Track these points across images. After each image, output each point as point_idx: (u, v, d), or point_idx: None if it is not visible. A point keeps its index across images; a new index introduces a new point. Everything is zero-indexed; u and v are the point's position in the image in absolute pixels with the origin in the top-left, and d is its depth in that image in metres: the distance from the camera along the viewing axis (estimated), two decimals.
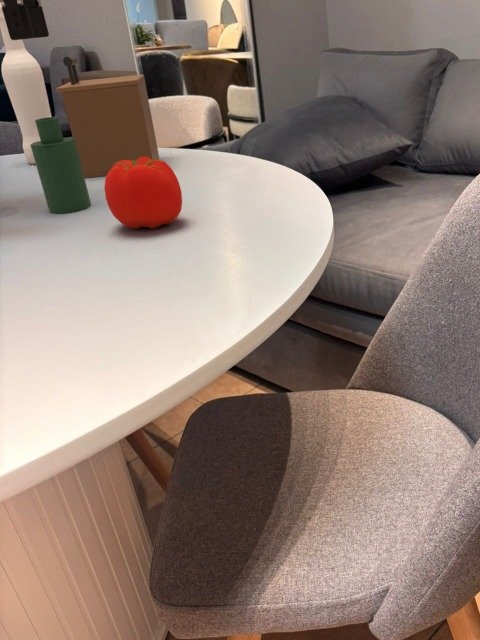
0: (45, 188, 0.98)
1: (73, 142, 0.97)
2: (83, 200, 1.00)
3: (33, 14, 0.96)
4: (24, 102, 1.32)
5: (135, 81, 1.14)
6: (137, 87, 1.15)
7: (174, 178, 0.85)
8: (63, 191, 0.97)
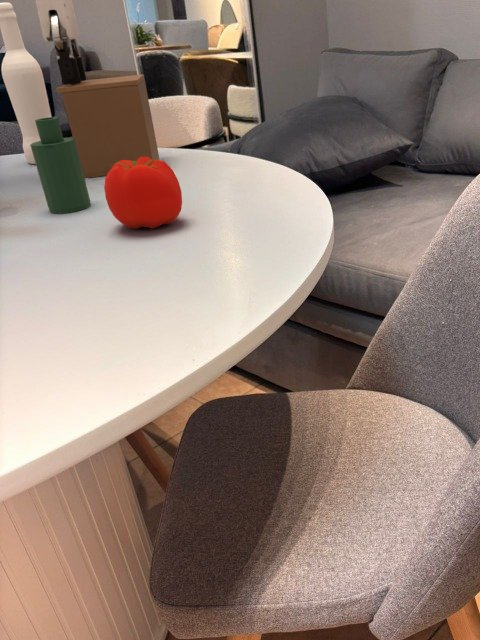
0: (45, 188, 0.98)
1: (73, 142, 0.97)
2: (83, 200, 1.00)
3: None
4: (24, 102, 1.32)
5: (135, 81, 1.14)
6: (137, 87, 1.15)
7: (174, 178, 0.85)
8: (63, 191, 0.97)
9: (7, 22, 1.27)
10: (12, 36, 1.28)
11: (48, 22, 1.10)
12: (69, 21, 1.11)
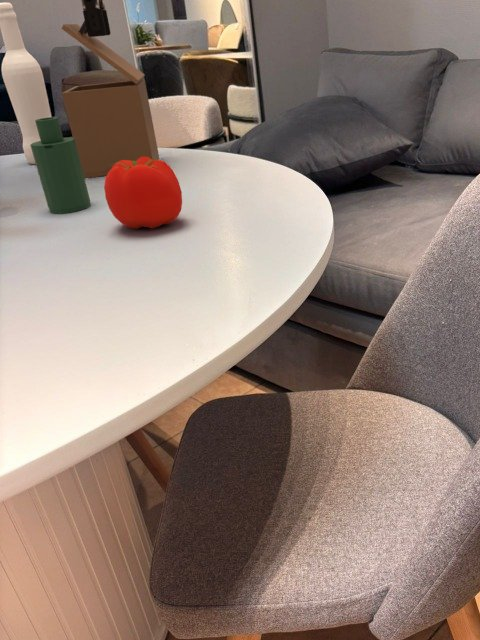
0: (45, 188, 0.98)
1: (73, 142, 0.97)
2: (83, 200, 1.00)
3: None
4: (24, 102, 1.32)
5: (136, 80, 1.14)
6: (137, 87, 1.15)
7: (174, 178, 0.85)
8: (63, 191, 0.97)
9: (7, 22, 1.27)
10: (12, 36, 1.28)
11: None
12: None
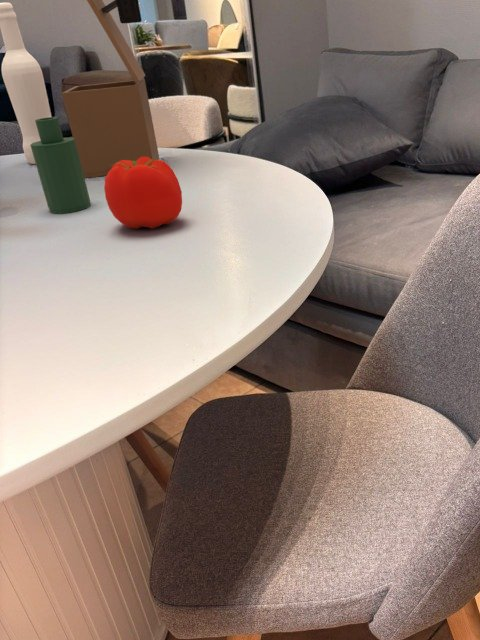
0: (45, 188, 0.98)
1: (73, 142, 0.97)
2: (83, 200, 1.00)
3: None
4: (24, 102, 1.32)
5: (137, 79, 1.14)
6: (137, 87, 1.15)
7: (174, 178, 0.85)
8: (63, 191, 0.97)
9: (7, 22, 1.27)
10: (12, 36, 1.28)
11: None
12: None
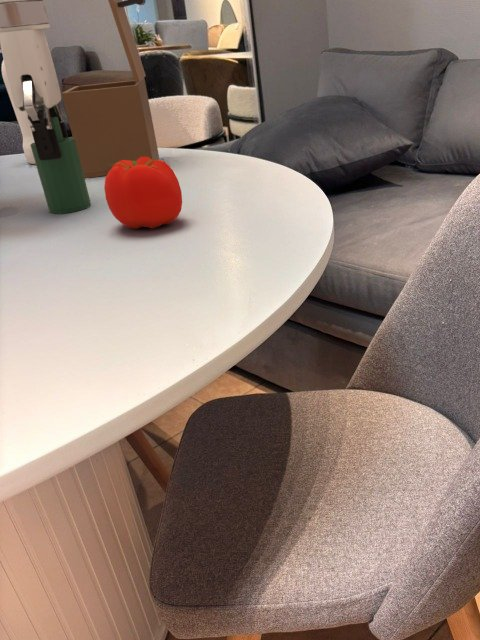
0: (45, 188, 0.98)
1: (73, 142, 0.97)
2: (83, 200, 1.00)
3: None
4: None
5: (137, 80, 1.14)
6: (137, 87, 1.15)
7: (174, 178, 0.85)
8: (63, 191, 0.97)
9: None
10: None
11: (21, 89, 0.88)
12: (47, 87, 0.90)
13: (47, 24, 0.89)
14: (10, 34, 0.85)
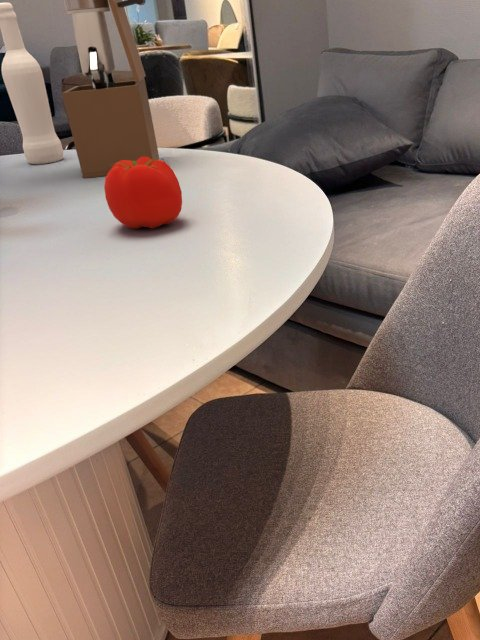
0: None
1: None
2: None
3: None
4: (24, 102, 1.32)
5: (137, 80, 1.14)
6: (137, 87, 1.15)
7: (174, 178, 0.85)
8: None
9: (7, 22, 1.27)
10: (12, 36, 1.28)
11: (88, 58, 1.13)
12: (107, 57, 1.15)
13: (108, 8, 1.13)
14: (81, 15, 1.10)
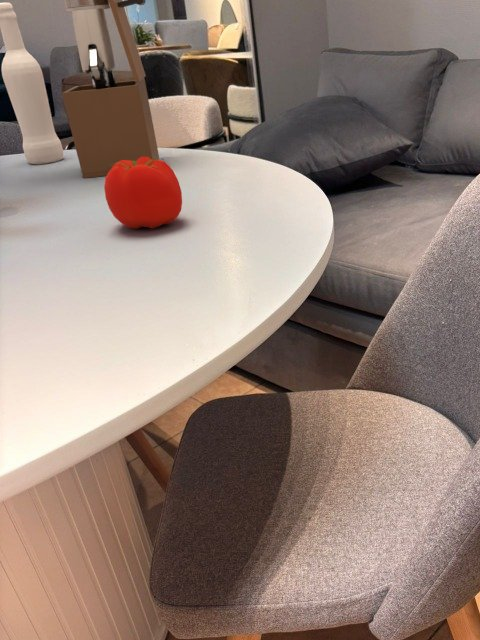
0: None
1: None
2: None
3: None
4: (24, 102, 1.32)
5: (137, 80, 1.14)
6: (137, 87, 1.15)
7: (174, 178, 0.85)
8: None
9: (7, 22, 1.27)
10: (12, 36, 1.28)
11: (88, 55, 1.13)
12: (107, 54, 1.15)
13: (108, 5, 1.13)
14: (81, 12, 1.10)
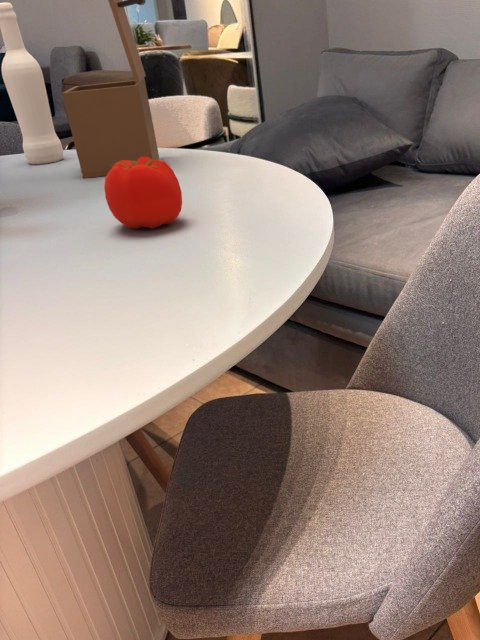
0: None
1: None
2: None
3: None
4: (24, 102, 1.32)
5: (137, 80, 1.14)
6: (137, 87, 1.15)
7: (174, 178, 0.85)
8: None
9: (7, 22, 1.27)
10: (12, 36, 1.28)
11: None
12: None
13: None
14: None
